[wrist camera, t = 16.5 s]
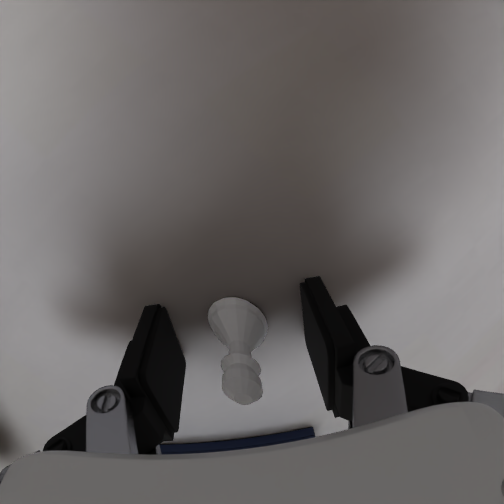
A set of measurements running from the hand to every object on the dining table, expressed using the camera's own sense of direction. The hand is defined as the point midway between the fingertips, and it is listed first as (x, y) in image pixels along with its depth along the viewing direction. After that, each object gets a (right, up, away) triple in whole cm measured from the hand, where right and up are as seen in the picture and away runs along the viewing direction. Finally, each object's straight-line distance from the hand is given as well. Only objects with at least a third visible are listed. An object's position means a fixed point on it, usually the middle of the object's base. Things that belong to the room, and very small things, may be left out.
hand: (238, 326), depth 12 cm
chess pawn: (0, 0, +1) cm, 1 cm away
